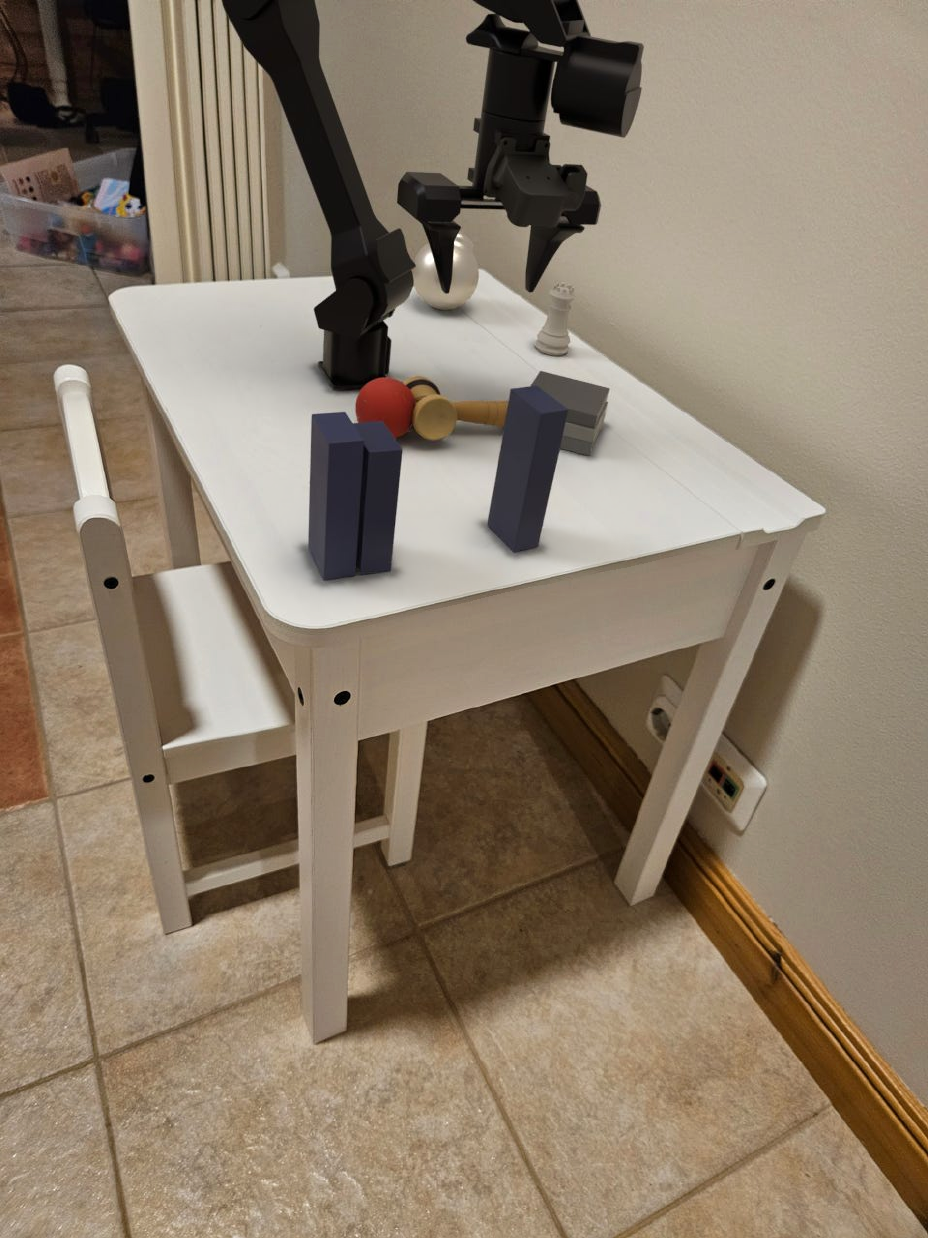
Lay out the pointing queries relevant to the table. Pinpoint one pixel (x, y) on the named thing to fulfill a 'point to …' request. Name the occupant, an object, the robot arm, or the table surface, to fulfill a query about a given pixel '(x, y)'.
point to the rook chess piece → (556, 322)
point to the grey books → (577, 409)
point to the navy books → (352, 495)
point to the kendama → (421, 408)
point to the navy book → (526, 466)
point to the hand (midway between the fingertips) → (487, 291)
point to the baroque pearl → (462, 276)
